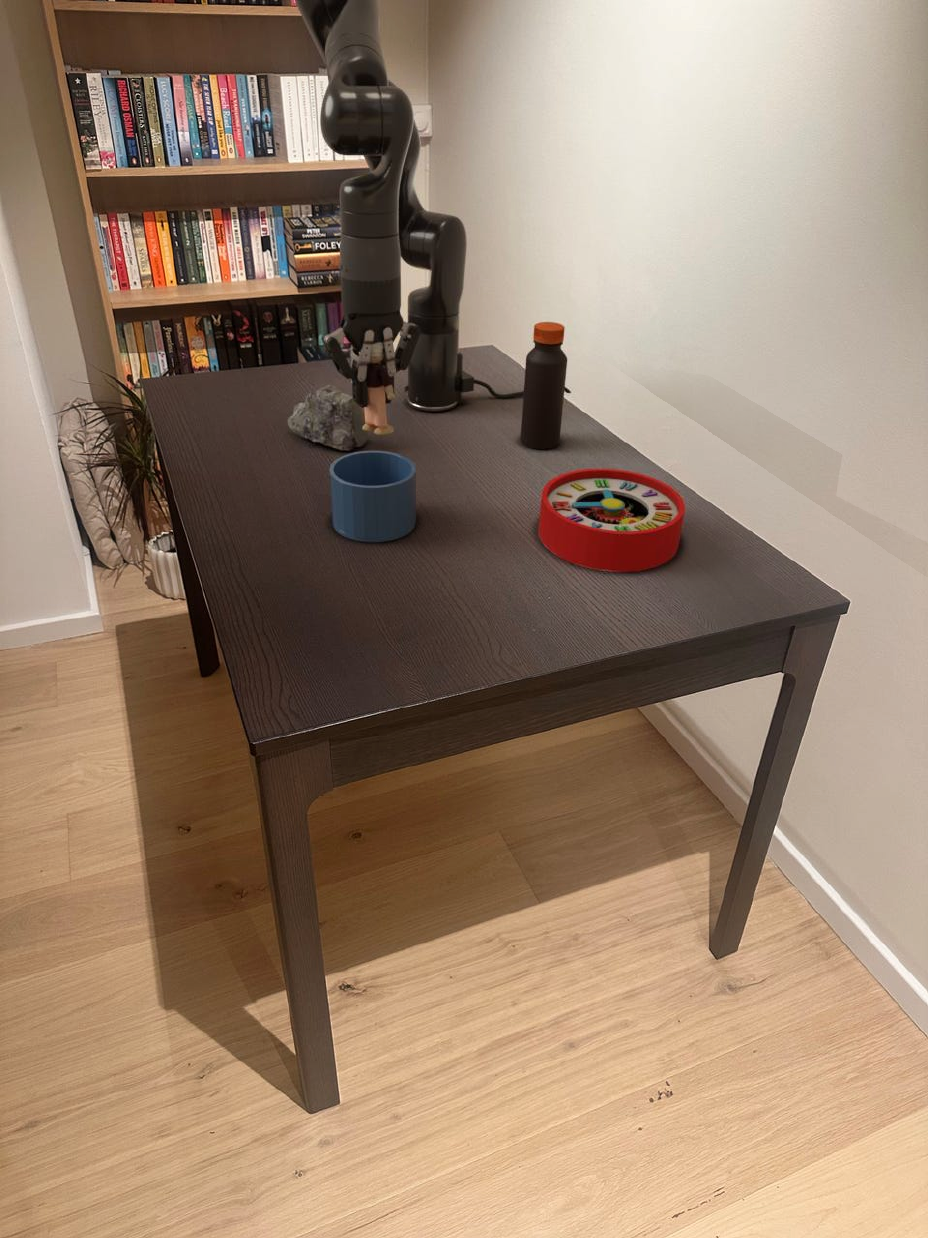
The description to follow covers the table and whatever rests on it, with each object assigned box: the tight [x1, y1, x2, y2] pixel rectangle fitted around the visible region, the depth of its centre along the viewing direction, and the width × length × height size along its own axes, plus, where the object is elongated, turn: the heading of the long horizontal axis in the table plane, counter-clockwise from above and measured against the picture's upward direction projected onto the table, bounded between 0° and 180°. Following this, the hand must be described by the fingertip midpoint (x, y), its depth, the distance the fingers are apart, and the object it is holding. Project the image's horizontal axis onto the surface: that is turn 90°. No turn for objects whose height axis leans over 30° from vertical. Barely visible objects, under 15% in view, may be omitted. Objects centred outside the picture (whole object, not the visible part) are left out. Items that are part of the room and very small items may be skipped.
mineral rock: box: [287, 384, 369, 452], centre depth 153 cm, size 13×11×10 cm
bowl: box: [328, 450, 417, 543], centre depth 130 cm, size 12×12×8 cm
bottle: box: [519, 321, 568, 450], centre depth 152 cm, size 7×7×20 cm
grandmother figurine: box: [350, 342, 396, 436], centre depth 121 cm, size 8×4×13 cm, turn 61°
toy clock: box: [538, 468, 686, 573], centre depth 129 cm, size 20×6×20 cm
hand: (373, 403), depth 123 cm, fingers closed on grandmother figurine, 3 cm apart
